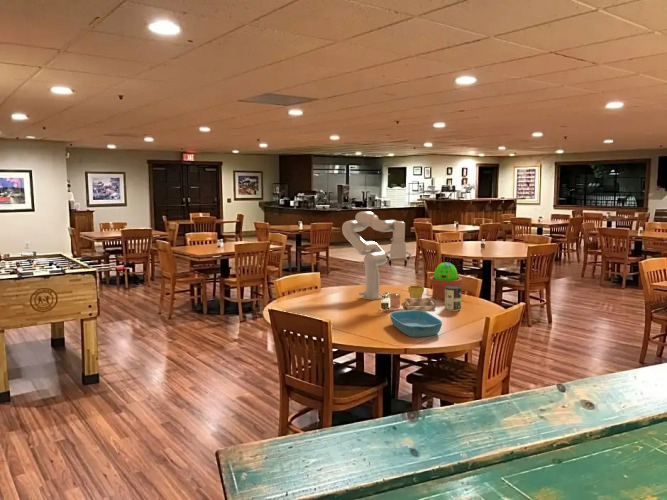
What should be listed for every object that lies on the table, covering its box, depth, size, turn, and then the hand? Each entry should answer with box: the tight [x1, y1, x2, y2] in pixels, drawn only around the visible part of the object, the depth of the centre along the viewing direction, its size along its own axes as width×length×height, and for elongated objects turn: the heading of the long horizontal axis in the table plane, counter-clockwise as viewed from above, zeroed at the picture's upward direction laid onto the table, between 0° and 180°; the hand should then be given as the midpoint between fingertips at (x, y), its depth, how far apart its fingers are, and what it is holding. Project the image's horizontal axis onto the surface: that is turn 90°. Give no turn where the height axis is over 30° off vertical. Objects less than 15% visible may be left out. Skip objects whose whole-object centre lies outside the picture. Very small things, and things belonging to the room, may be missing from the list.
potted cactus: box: [428, 261, 463, 301], centre depth 360 cm, size 22×22×25 cm
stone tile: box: [388, 304, 404, 311], centre depth 333 cm, size 9×9×1 cm
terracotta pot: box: [389, 293, 402, 308], centre depth 333 cm, size 7×7×8 cm
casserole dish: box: [389, 309, 443, 338], centre depth 286 cm, size 37×22×7 cm, turn 13°
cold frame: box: [404, 297, 436, 311], centre depth 333 cm, size 17×13×5 cm
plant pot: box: [407, 285, 425, 298], centre depth 352 cm, size 10×10×10 cm
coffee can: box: [444, 285, 463, 312], centre depth 329 cm, size 10×10×14 cm
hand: (397, 266), depth 344 cm, fingers open, 9 cm apart
